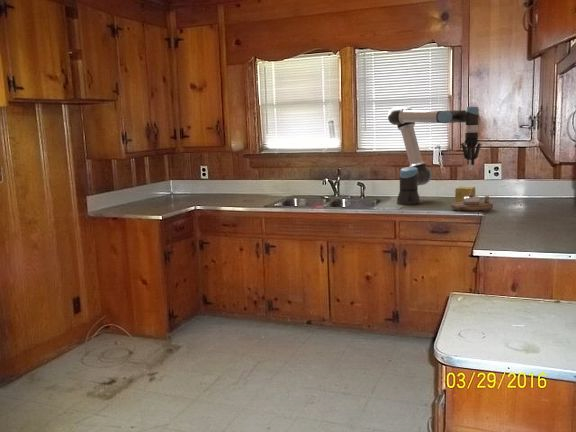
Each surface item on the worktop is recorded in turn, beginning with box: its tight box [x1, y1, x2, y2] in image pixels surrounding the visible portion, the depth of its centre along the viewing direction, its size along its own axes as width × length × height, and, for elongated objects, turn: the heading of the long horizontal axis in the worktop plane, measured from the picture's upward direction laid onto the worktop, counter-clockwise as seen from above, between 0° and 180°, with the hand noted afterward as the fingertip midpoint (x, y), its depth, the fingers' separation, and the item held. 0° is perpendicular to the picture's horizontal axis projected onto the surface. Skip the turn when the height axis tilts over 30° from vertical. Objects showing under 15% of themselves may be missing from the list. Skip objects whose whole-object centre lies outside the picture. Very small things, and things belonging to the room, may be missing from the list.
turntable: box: [450, 195, 494, 211], centre depth 331 cm, size 24×24×6 cm
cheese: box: [454, 186, 476, 202], centre depth 360 cm, size 10×11×10 cm
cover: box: [463, 194, 480, 206], centre depth 331 cm, size 9×9×6 cm
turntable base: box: [458, 209, 485, 213], centre depth 332 cm, size 14×14×2 cm
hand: (470, 170), depth 345 cm, fingers closed
